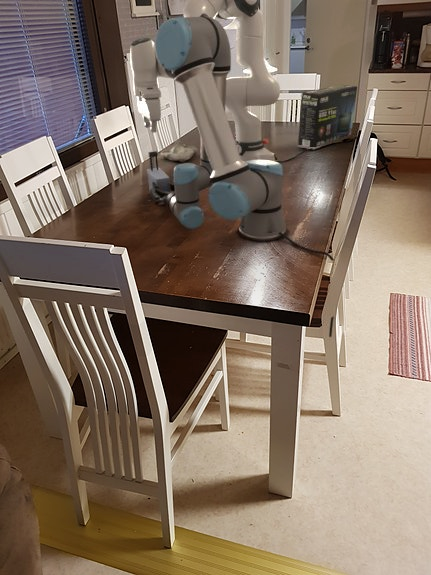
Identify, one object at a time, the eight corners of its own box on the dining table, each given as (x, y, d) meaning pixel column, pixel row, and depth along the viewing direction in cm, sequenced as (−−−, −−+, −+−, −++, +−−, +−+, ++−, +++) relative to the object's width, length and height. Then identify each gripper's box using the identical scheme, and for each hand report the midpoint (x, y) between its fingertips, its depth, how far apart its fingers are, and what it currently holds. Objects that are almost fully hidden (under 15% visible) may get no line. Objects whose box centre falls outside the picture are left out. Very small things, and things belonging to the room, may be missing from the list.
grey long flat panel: (146, 172, 182) (144, 151, 177) (159, 170, 183) (157, 149, 179) (156, 182, 170) (154, 160, 166) (169, 180, 172) (167, 158, 167)
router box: (314, 151, 231) (318, 94, 217) (296, 148, 237) (299, 92, 224) (352, 138, 251) (358, 85, 238) (335, 135, 258) (340, 83, 245)
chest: (149, 193, 186) (147, 172, 181) (162, 191, 187) (159, 171, 183) (158, 204, 174) (156, 182, 170) (171, 202, 176) (169, 180, 172)
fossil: (184, 156, 217) (163, 136, 220) (174, 174, 223) (154, 154, 227) (205, 153, 231) (186, 134, 234) (195, 171, 237) (176, 152, 240)
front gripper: (154, 218, 156) (138, 197, 174) (204, 209, 161) (184, 190, 180) (152, 197, 152) (136, 178, 170) (203, 189, 157) (182, 171, 176)
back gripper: (131, 87, 172) (136, 125, 179) (144, 94, 156) (149, 136, 163) (147, 85, 174) (151, 123, 181) (162, 92, 157) (166, 134, 165)
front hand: (161, 184), depth 175 cm, fingers closed on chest, 5 cm apart
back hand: (150, 129), depth 172 cm, fingers open, 8 cm apart
